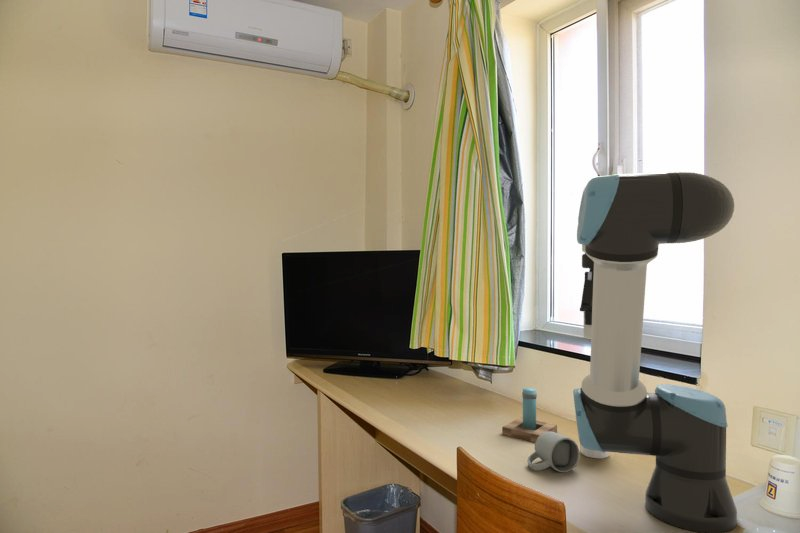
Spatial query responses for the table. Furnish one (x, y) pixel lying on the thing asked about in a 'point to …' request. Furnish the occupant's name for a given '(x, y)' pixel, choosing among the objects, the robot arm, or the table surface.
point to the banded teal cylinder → (529, 408)
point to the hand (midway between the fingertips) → (597, 335)
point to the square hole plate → (519, 432)
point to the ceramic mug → (554, 452)
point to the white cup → (593, 453)
